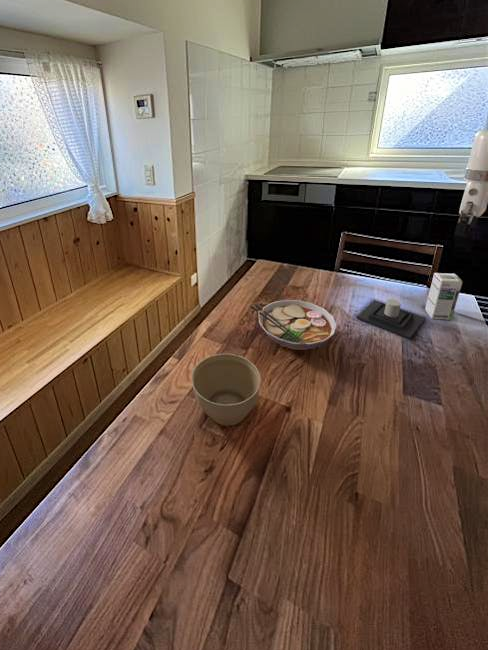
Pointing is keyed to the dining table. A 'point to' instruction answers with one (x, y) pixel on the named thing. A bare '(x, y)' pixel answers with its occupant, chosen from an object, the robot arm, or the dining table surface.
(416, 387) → the dining table surface
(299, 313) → the ramen bowl
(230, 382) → the planter bowl
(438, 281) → the syrup box
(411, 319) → the base pad
